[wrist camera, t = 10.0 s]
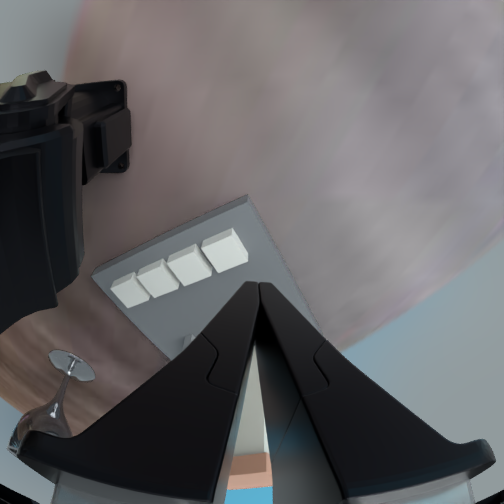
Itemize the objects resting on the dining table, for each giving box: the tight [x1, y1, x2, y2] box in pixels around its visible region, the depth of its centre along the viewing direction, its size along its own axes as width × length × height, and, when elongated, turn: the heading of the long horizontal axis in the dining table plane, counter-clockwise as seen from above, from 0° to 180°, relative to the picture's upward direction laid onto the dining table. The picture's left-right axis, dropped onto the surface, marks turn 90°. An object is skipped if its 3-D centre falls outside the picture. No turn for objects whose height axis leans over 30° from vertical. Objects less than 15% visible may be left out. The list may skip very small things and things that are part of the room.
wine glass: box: [7, 350, 95, 458], centre depth 30 cm, size 8×8×15 cm
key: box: [227, 346, 273, 490], centre depth 26 cm, size 5×6×12 cm
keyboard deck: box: [91, 195, 323, 361], centre depth 27 cm, size 16×15×3 cm
